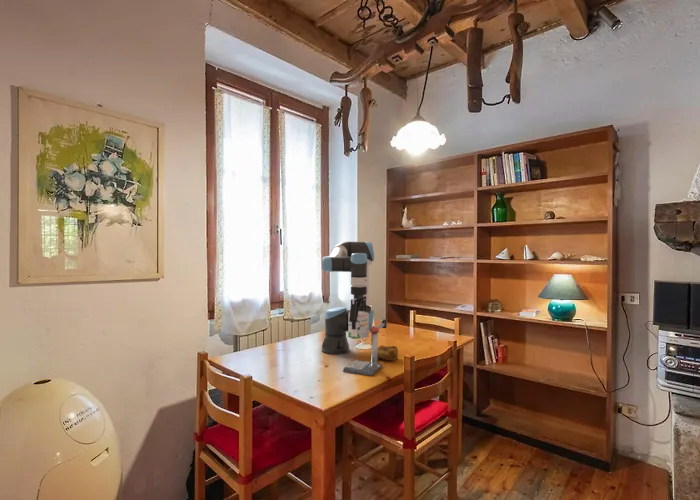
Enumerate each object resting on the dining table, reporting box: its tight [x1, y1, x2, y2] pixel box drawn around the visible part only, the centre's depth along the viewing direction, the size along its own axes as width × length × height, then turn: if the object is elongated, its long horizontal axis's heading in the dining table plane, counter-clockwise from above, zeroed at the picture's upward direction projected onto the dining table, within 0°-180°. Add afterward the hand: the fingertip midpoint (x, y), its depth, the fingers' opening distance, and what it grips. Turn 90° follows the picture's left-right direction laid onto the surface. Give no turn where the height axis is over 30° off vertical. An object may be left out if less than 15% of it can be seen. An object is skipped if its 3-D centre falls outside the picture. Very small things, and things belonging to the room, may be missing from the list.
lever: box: [370, 318, 388, 334], centre depth 178 cm, size 4×18×4 cm, turn 157°
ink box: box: [347, 311, 370, 340], centre depth 174 cm, size 9×5×12 cm, turn 117°
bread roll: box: [378, 345, 399, 362], centre depth 190 cm, size 13×10×8 cm
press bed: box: [342, 332, 383, 377], centre depth 174 cm, size 15×14×18 cm
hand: (358, 333), depth 175 cm, fingers closed on ink box, 9 cm apart
